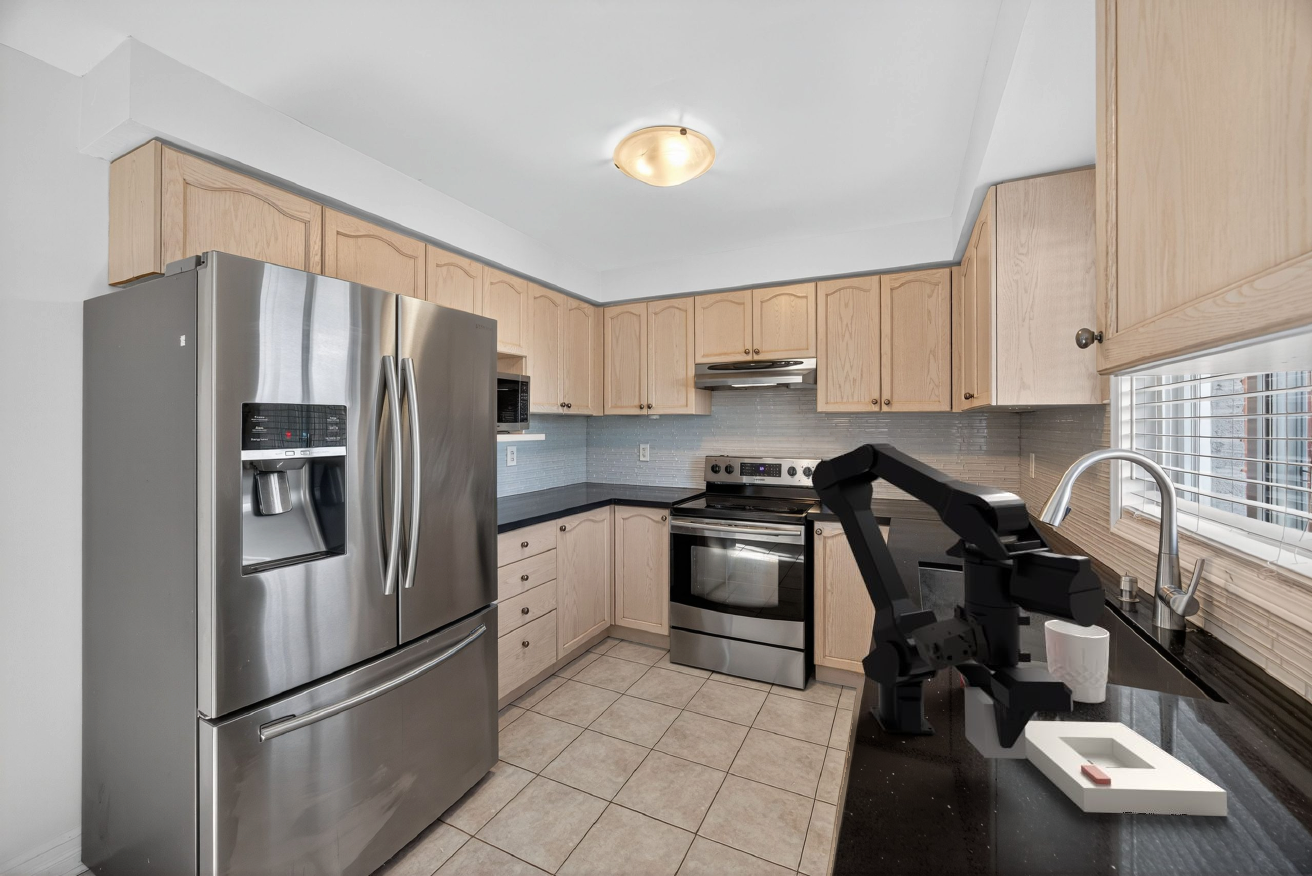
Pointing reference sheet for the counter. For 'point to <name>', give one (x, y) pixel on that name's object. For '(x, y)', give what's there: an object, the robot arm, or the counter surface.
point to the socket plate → (1118, 770)
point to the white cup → (1078, 658)
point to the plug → (987, 727)
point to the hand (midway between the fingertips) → (994, 736)
